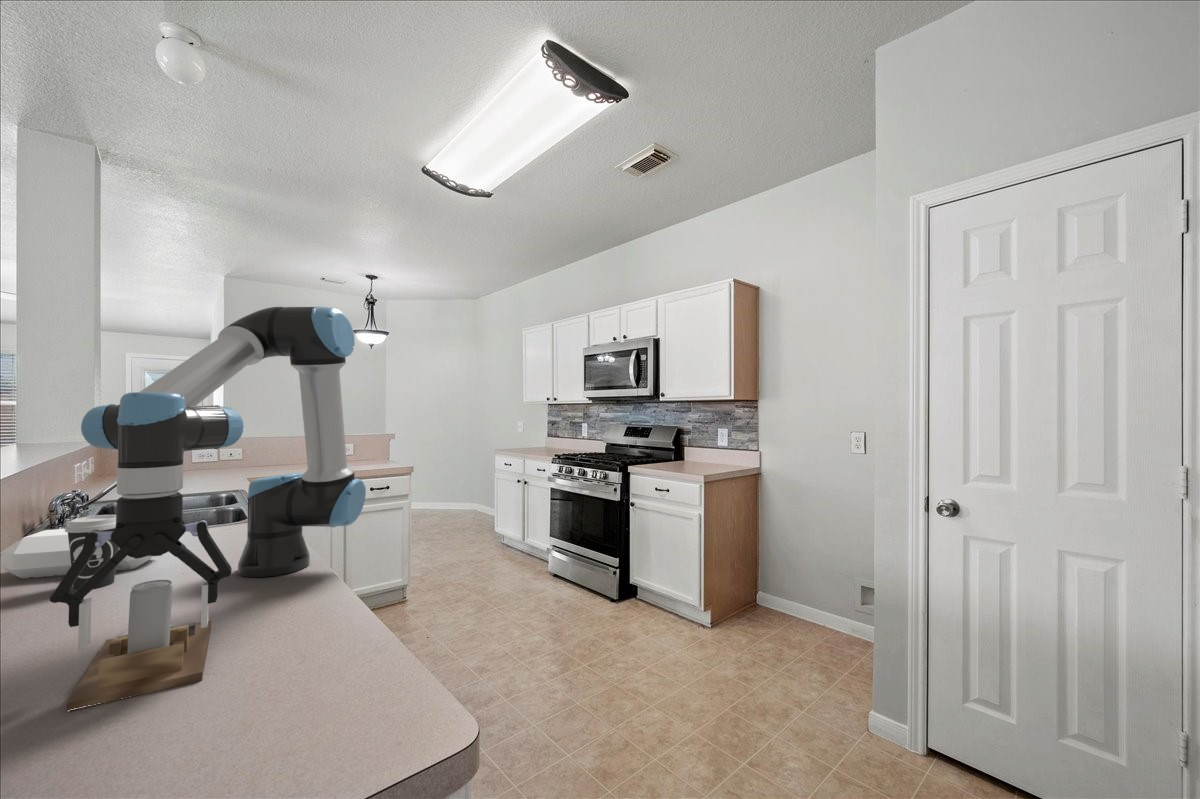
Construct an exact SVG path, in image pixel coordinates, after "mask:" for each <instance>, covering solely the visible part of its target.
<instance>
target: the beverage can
mask: <svg viewBox="0 0 1200 799" xmlns="http://www.w3.org/2000/svg"><path fill="white" fill-rule="evenodd" d="M172 599H173V582H172V580H169V579H154V580H147V581H142V582H140V583H136V584H134V585H133V586H132V587H131V591H130V593H129V608H128V626H127V627H128V628H127V635H128V651H127V654H130V653H135V652H140V651H145V650H150V649H155V648H160V647H165V646H169V640H170V627H171V622H172V621H171V618H172V604H173V603H172V602H173V600H172Z"/></svg>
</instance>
